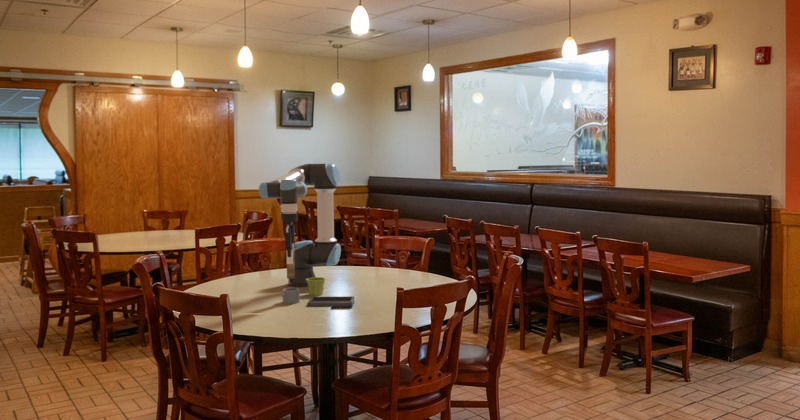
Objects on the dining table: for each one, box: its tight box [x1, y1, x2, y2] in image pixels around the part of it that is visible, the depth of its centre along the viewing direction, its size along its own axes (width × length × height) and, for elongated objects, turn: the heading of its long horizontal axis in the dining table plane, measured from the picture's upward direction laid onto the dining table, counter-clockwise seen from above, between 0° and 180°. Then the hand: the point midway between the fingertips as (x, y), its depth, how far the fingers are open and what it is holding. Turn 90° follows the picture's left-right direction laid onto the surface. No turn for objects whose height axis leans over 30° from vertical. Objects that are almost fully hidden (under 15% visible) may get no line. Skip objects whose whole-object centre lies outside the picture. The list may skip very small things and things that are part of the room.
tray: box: [307, 295, 355, 309], centre depth 312 cm, size 14×20×2 cm
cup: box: [281, 287, 301, 305], centre depth 314 cm, size 8×8×7 cm
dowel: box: [286, 243, 295, 280], centre depth 313 cm, size 4×4×16 cm
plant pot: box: [306, 276, 326, 297], centre depth 332 cm, size 9×9×9 cm
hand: (290, 262), depth 313 cm, fingers closed on dowel, 3 cm apart
